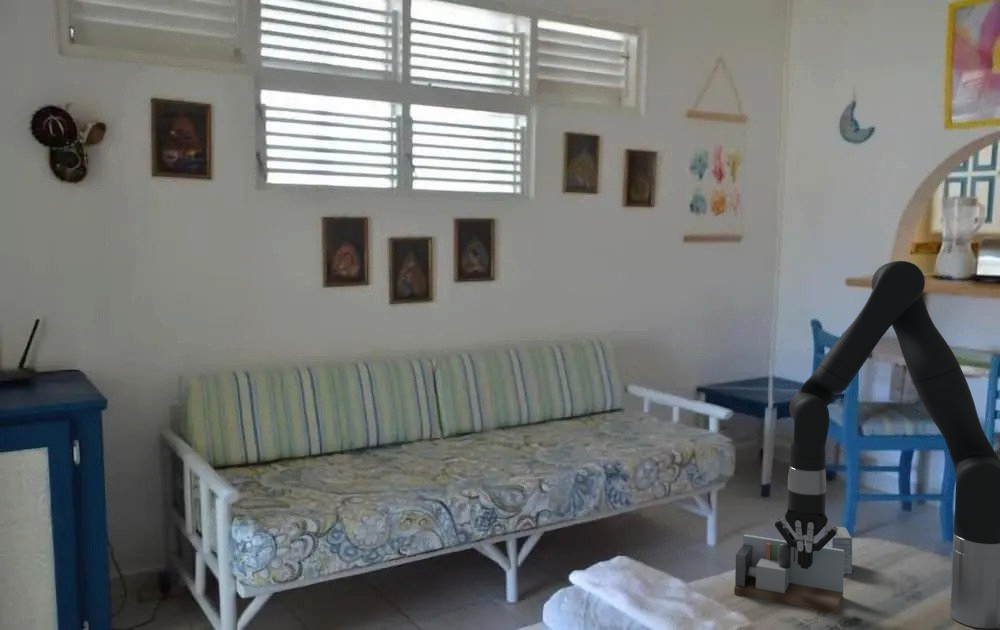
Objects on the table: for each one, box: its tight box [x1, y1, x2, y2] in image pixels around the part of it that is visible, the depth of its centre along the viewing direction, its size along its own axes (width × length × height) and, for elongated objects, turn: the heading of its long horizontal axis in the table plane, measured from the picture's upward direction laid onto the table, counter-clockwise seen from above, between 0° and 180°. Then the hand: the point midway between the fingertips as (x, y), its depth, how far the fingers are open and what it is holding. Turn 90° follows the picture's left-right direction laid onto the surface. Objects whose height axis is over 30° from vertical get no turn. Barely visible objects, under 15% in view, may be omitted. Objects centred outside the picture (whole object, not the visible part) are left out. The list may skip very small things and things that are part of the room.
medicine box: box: [826, 526, 853, 575], centre depth 201 cm, size 8×4×9 cm, turn 168°
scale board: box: [742, 534, 845, 593], centre depth 189 cm, size 21×1×9 cm, turn 61°
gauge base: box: [733, 577, 844, 614], centre depth 186 cm, size 21×9×2 cm, turn 61°
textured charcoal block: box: [734, 545, 752, 588], centre depth 190 cm, size 2×7×7 cm, turn 152°
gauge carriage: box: [748, 542, 791, 593], centre depth 187 cm, size 9×6×10 cm, turn 61°
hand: (804, 567), depth 183 cm, fingers closed
